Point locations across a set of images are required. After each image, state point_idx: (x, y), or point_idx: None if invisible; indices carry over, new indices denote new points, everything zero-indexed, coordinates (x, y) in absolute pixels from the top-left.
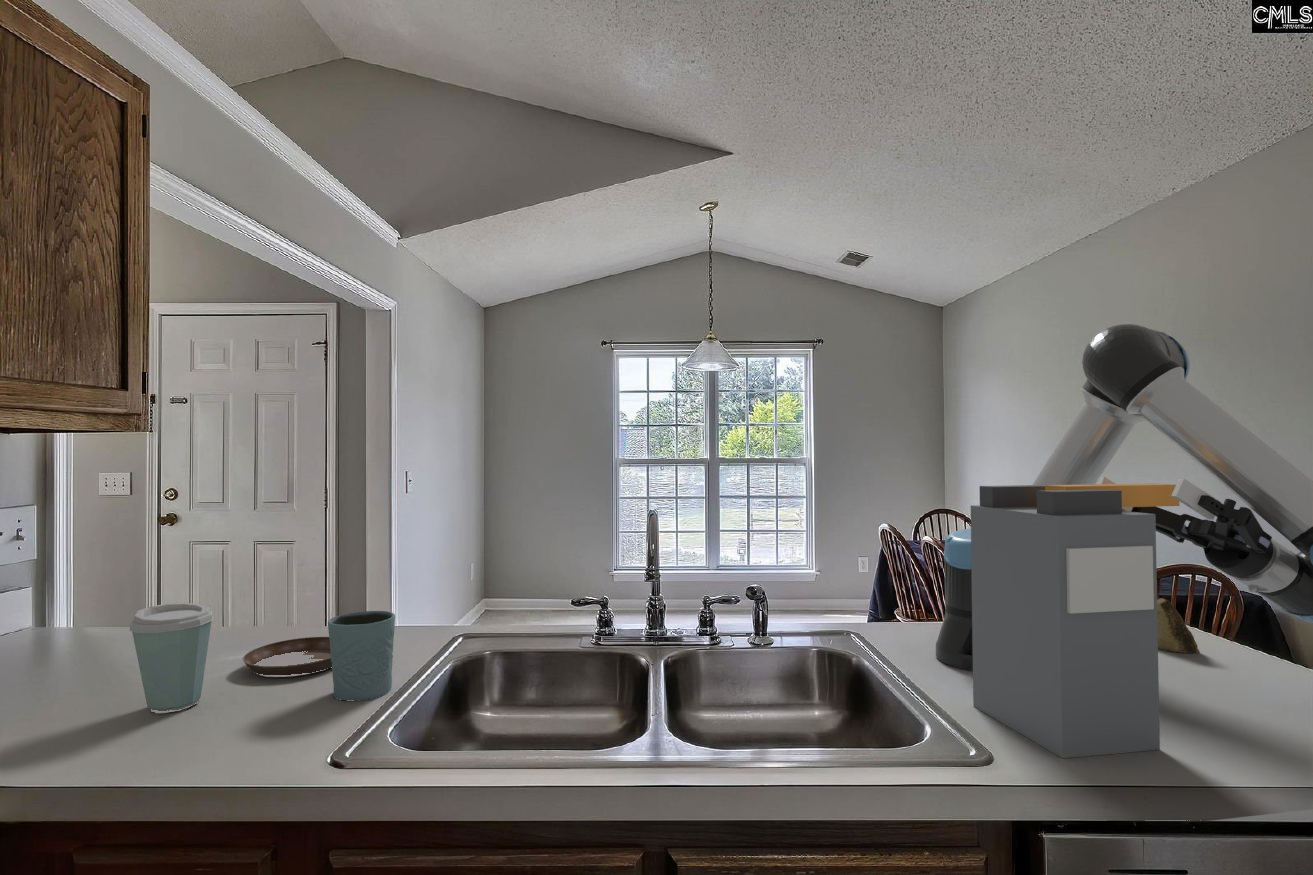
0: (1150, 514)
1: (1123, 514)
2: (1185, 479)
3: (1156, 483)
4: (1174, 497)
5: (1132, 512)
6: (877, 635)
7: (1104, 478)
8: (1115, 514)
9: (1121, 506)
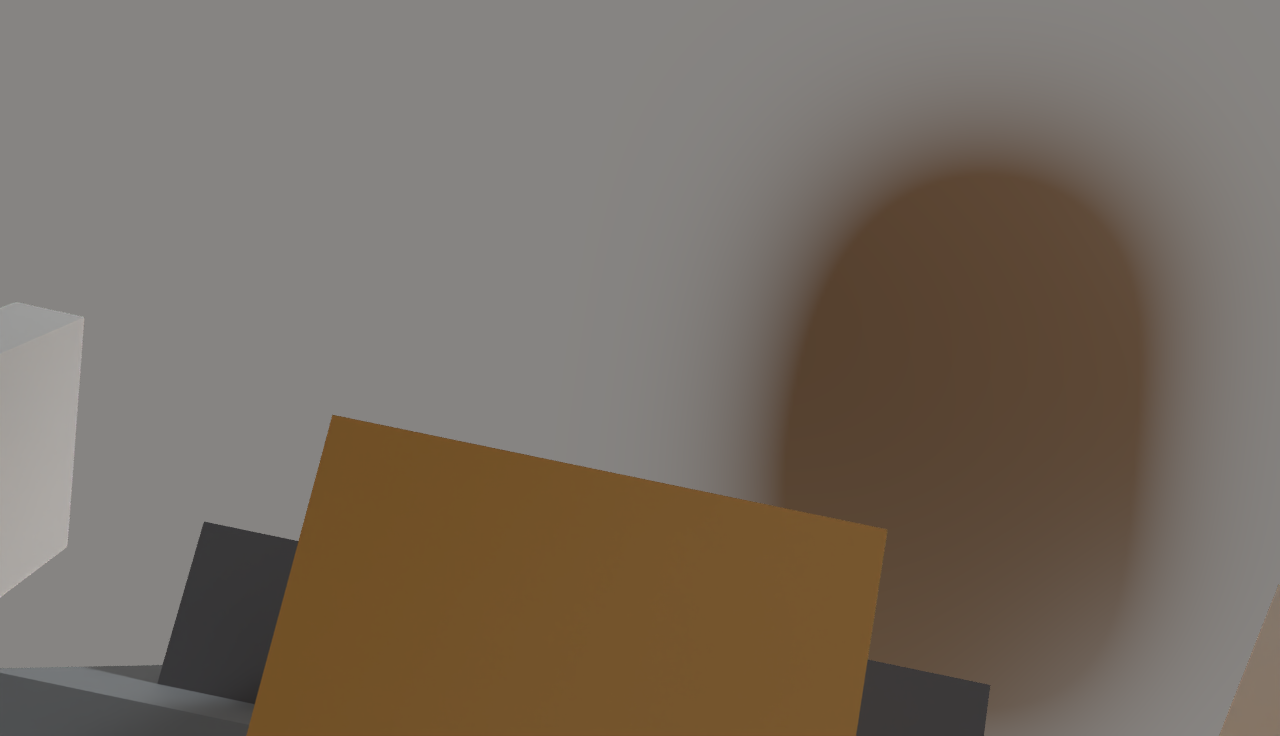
0: (3, 669)
1: (123, 673)
2: (1, 307)
3: (830, 518)
4: (31, 557)
5: (171, 703)
6: None
7: (1278, 610)
8: (152, 674)
9: (172, 631)
